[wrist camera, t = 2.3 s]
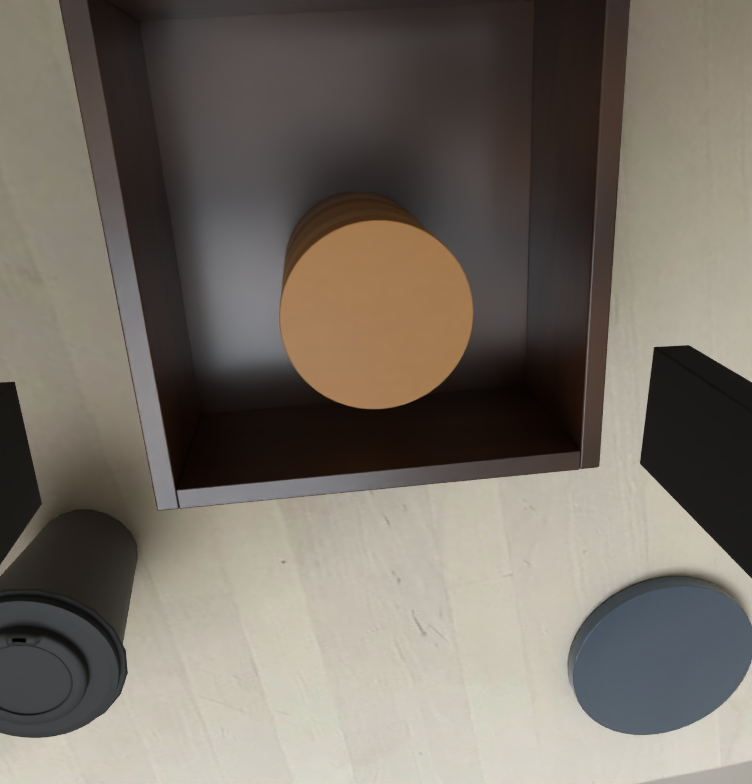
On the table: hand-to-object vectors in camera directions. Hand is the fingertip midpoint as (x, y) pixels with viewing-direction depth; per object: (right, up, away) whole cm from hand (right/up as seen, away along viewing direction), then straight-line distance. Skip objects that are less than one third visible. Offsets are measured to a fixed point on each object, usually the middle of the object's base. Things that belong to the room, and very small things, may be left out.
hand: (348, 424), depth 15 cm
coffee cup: (-15, -8, +25) cm, 31 cm away
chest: (0, +9, +20) cm, 22 cm away
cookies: (0, +7, +20) cm, 21 cm away
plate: (+19, -16, +32) cm, 40 cm away
